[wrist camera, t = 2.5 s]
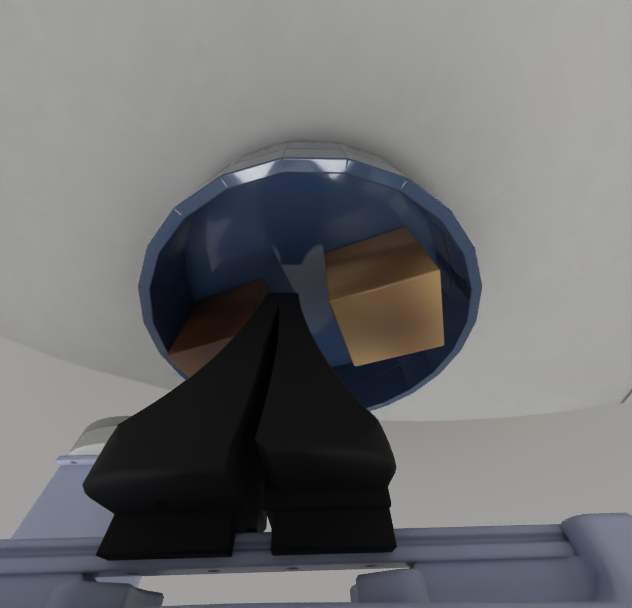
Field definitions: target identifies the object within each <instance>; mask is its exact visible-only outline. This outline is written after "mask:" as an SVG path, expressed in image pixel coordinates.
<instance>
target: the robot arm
mask: <svg viewBox="0 0 632 608" xmlns="http://www.w3.org/2000/svg"><path fill="white" fill-rule="evenodd" d="M56 462H57V463H58V464H59V465H61V466H60V467H59V469H58V470H57V471H56V473H55V474H54V476H53V477H52V479H51V480H50V482H49V483H48V485H47V486H46V488H45V489H44V491H43V492H42V493H41V495H40V496H39V498H38V499H37V501H36V502H35V504H34V505H33V507H32V508H31V510H30V511H29V513H28V514H27V515H26V517H25V519H24V520H23V521H22V523H21V524H20V526H19V527H18V529H17V530H16V532H15V533H14V535H13V536H12V537H11V539H5V540H4V539H3V540H0V608H632V516H631V515H630V514H628V513H601V514H582V515H577V516H573V517H571V518H568V519H566V520H565V521H562V523H561V524H551V525H514V526H477V527H440V528H404V529H393V524H392V519H391V514H390V510H389V508H390V507H391V500H390V495H389V491H388V485H389V483H390V481H391V480H392V478H393V476H394V474H395V471H396V464H395V459H394V456H393V453H392V450H391V447H390V444H389V442H388V440H387V437H386V435H385V433H384V431H383V429H382V427H381V425H380V423H379V421H378V419H377V418H376V417H375V416H374V415H373V414H372V413H371V412H370V411H369V410H367V408H366V407H365V406H364V405H363V404H362V403H361V402H360V401H359V400H358V399H357V398H356V397H355V396H354V394H353V393H352V392H351V391H350V390H349V389H348V388H347V386H346V385H345V384H344V383H343V381H342V380H341V379H340V377H339V376H338V375H337V374H336V372H335V371H334V370H333V368H332V367H331V366H330V364H329V363H328V361H327V360H326V358H325V357H324V355H323V354H322V352H321V350H320V349H319V347H318V345H317V343H316V342H315V340H314V338H313V336H312V334H311V332H310V330H309V328H308V325H307V323H306V320H305V318H304V315H303V312H302V309H301V306H300V301H299V294H298V293H267V294H266V295H265V296H264V298H263V300H262V301H261V303H260V304H259V306H258V307H257V308H256V310H255V311H254V313H253V314H252V315H251V317H250V318H249V319H248V320H247V322H246V323H245V324H244V325H243V327H242V328H241V329H240V330H239V331H238V332H237V334H236V335H235V336H234V337H233V338H232V339H231V340H230V341H229V343H228V344H227V345H226V346H225V347H224V348H223V349H222V350H221V351H220V352H219V353H217V354H216V355H215V356H214V357H213V358H212V359H211V360H210V361H209V362H208V363H206V364H205V365H204V366H203V367H202V368H201V369H200V370H198V371H197V372H196V373H195V374H193V375H192V376H191V377H190V378H188V379H187V380H186V381H184V382H183V383H182V384H180V385H179V386H178V387H176V388H175V389H173V390H172V391H171V392H169V393H168V394H166V395H165V396H164V397H162V398H160V399H159V400H157V401H156V402H154V403H153V404H151V405H150V406H148V407H146V408H145V409H143V410H142V411H140V412H138V413H137V414H135V415H133V416H132V417H130V418H128V419H127V420H125V421H123V422H122V423H120V424H118V426H117V427H116V429H115V430H114V432H113V433H112V435H111V436H110V438H109V439H108V441H107V442H106V444H105V446H104V448H103V449H102V451H101V453H100V454H99V455H73V456H59V457H58V458H57V460H56ZM267 516H268V519H269V522H270V525H271V528H272V531H271V532H264V531H265V529H266V524H267V523H266V522H267ZM406 567H407V568H409V569H397V570H389V571H382V572H375V573H368V574H362V575H358V577H357V579H356V585H354V586H352V587H351V589H350V595H351V602H347V603H346V602H345V603H344V602H343V603H342V602H341V603H340V602H338V603H244V604H243V603H242V604H209V605H183V606H162V607H161V605H162V602H163V598H164V596H163V594H162V593H158V592H152V591H146V590H143V589H139V588H138V585H139V582H140V579H141V577H142V576H158V575H190V574H220V573H253V572H284V571H312V570H313V571H315V570H345V569H346V570H347V569H377V568H378V569H379V568H406Z"/></svg>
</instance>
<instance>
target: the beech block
mask: <svg viewBox="0 0 632 608" xmlns="http://www.w3.org/2000/svg"><path fill="white" fill-rule="evenodd" d="M324 260H325V270H326V279H327V289H328V298H329V304H330V306H331V309H332V311H333V314H334V316H335V319H336V321H337V324H338V326H339V329H340V331H341V334H342V336H343V339H344V341H345V344H346V347H347V349H348V352H349V354H350V357H351V359H352V362H353V364H354V366H360V365H364V364H368V363H372V362H377V361H381V360H385V359H389V358H394V357H398V356H402V355H406V354H411V353H415V352H419V351H423V350H428V349H432V348H436V347H440V346H443V345H444V328H443V311H442V294H441V277H440V270H439V268H438V267H437V266H436V264H435V263H434V262H433V261H432V259H431V258H430V257H429V256H428V254H427V253H426V252H425V251H424V249H423V248H422V247H421V245H420V244H419V243H418V242H417V240H416V239H415V238H414V237H413V235H412V234H411V233H410V231H409V230H408V229H407V228H406V227H402V228H399V229H396V230H393V231H390V232H387V233H384V234H381V235H378V236H375V237H372V238H368V239H365V240H362V241H359V242H356V243H353V244H350V245H347V246H344V247H341V248H338V249H334V250H331V251H328V252H325V253H324Z"/></svg>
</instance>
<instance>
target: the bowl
mask: <svg viewBox="0 0 632 608" xmlns="http://www.w3.org/2000/svg"><path fill="white" fill-rule="evenodd" d="M402 227H406V228H407V229H408V230H409V231H410V233H411V234H412V235H413V237H414V238H415V239H416V240H417V242H418V243H419V244H420V245H421V247H422V248H423V249H424V251H425V252H426V253H427V254H428V256H429V257H430V258H431V259H432V261H433V262H434V263H435V264H436V266H437V267H438V268H439V270H440V277H441V294H442V311H443V328H444V345H443V346H440V347H436V348H432V349H428V350H423V351H419V352H415V353H411V354H406V355H402V356H398V357H394V358H389V359H385V360H381V361H377V362H372V363H368V364H364V365H360V366H354V364H353V362H352V359H351V357H350V354H349V352H348V349H347V347H346V344H345V341H344V339H343V336H342V334H341V331H340V329H339V326H338V324H337V321H336V319H335V316H334V314H333V311H332V309H331V306H330V304H329V298H328V289H327V279H326V270H325V260H324V253H325V252H328V251H331V250H334V249H338V248H341V247H344V246H347V245H350V244H353V243H356V242H359V241H362V240H365V239H368V238H372V237H375V236H378V235H381V234H384V233H387V232H390V231H393V230H396V229H399V228H402ZM259 280H263V281H264V283H265V284H266V286H267V288H268V290H269V291H270V293H298V294H299V301H300V306H301V309H302V312H303V315H304V318H305V320H306V323H307V325H308V328H309V330H310V332H311V334H312V336H313V338H314V340H315V342H316V343H317V345H318V347H319V349H320V350H321V352H322V354H323V355H324V357H325V358H326V360H327V361H328V363H329V364H330V366H331V367H332V368H333V370H334V371H335V372H336V374H337V375H338V376H339V377H340V379H341V380H342V381H343V383H344V384H345V385H346V386H347V388H348V389H349V390H350V391H351V392H352V393H353V394H354V396H355V397H356V398H357V399H358V400H359V401H360V402H361V403H362V404H363V405H364V406H365V407H366V408H367V410H369V411H371V410H374V409H378V408H381V407H384V406H387V405H389V404H391V403H393V402H395V401H397V400H400V399H402V398H404V397H406V396H408V395H410V394H412V393H414V392H415V391H417V390H418V389H420V388H421V387H422V386H424V385H425V384H426V383H428V382H429V381H431V380H432V379H433V378H435V377H436V376H438V375H439V374H440V373H441V372H442V371H443V370H444V369H445V367H446V366H447V365H448V364H449V363H450V362H451V361H452V360H453V359H454V357H455V356H456V355H457V354H458V353H459V352H460V350H461V349H462V347H463V345H464V344H465V342H466V340H467V338H468V336H469V334H470V332H471V330H472V328H473V326H474V324H475V322H476V319H477V314H478V308H479V302H480V296H481V291H482V283H481V278H480V273H479V267H478V262H477V257H476V252H475V249H474V246H473V244H472V243H471V241H470V240H469V238H468V236H467V235H466V233H465V232H464V230H463V229H462V227H461V225H460V224H459V222H458V221H457V219H456V218H455V216H454V214H453V213H452V211H451V210H450V209H449V208H448V207H446V206H445V205H444V204H442V203H441V202H440V201H438V200H437V199H436V198H434V197H433V196H432V195H430V194H429V193H428V192H426V191H425V190H424V189H422V188H421V187H420V186H418V185H417V184H416V183H414V182H413V181H412V180H410V179H409V178H408V177H406V176H405V175H404V174H402V173H401V172H400V171H398V170H397V169H396V168H394V167H393V166H392V165H390V164H389V163H388V162H386V161H385V160H384V159H382V158H380V157H378V156H375V155H372V154H369V153H367V152H365V151H362V150H360V149H358V148H354V147H350V146H346V145H342V144H339V143H331V142H320V141H302V142H287V143H284V144H280V145H275V146H270V147H267V148H264V149H262V150H259V151H256V152H254V153H251V154H247V155H245V156H243V157H241V158H240V159H238V160H237V161H235V162H234V163H233V164H231V165H229V166H228V167H227V168H225V169H224V170H223V171H221V172H220V173H218V174H217V175H215V176H214V177H213V178H211V179H210V180H208V181H207V182H206V183H205V184H203V185H202V186H201V187H199V188H198V189H197V190H196V191H194V192H193V193H192V194H191V195H189V196H188V197H187V198H185V199H184V200H183V201H182V202H180V203H179V204H178V205H177V206H175V207H174V208H173V210H172V211H171V213H170V214H169V215H168V217H167V218H166V220H165V221H164V223H163V224H162V226H161V227H160V228H159V230H158V231H157V233H156V234H155V236H154V237H153V239H152V240H151V241H150V243H149V244H148V247H147V249H146V254H145V258H144V262H143V267H142V271H141V276H140V280H139V285H138V286H139V287H138V289H139V296H140V302H141V309H142V315H143V322H144V324H145V326H146V328H147V330H148V332H149V334H150V336H151V338H152V340H153V342H154V343H155V345H156V347H157V349H158V351H159V352H160V354H161V355H162V356H163V357H164V358H165V359H166V360H167V362H168V363H169V364H170V365H171V366H172V367H173V368H174V369H175V370H176V371H177V372H178V373H179V375H180V376H182V377H183V378H184V379H185V380H187V379H188V378H189V377H188V376H187V375H186V374H185V373H183V372H182V371H181V370H180V369H179V368H178V367H177V366H176V365H175V364H174V363H173V362H172V361H170V360H169V359H168V358H167V354H168V352H169V351H170V349H171V347H172V345H173V344H174V342H175V340H176V338H177V336H178V335H179V333H180V331H181V329H182V327H183V326H184V324H185V322H186V320H187V318H188V317H189V315H190V313H191V311H192V309H193V308H194V306H195V304H196V302H197V301H198V300H201V299H204V298H207V297H210V296H213V295H216V294H219V293H222V292H225V291H228V290H231V289H234V288H237V287H240V286H243V285H246V284H249V283H252V282H255V281H259Z"/></svg>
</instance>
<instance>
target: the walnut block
mask: <svg viewBox="0 0 632 608" xmlns="http://www.w3.org/2000/svg"><path fill="white" fill-rule="evenodd" d="M267 293H270V291H269V290H268V288H267V286H266V284H265V283H264V281H263V280H259V281H255V282H252V283H249V284H246V285H243V286H240V287H237V288H234V289H231V290H228V291H225V292H222V293H219V294H216V295H213V296H210V297H207V298H204V299H201V300H198V301H197V302H196V304H195V306H194V308H193V309H192V311H191V313H190V315H189V317H188V318H187V320H186V322H185V324H184V326H183V327H182V329H181V331H180V333H179V335H178V336H177V338H176V340H175V342H174V344H173V345H172V347H171V349H170V351H169V352H168V354H167V358H168V359H169V360H170V361H172V362H173V363H174V364H175V365H176V366H177V367H178V368H179V369H180V370H181V371H182V372H183V373H185V374H186V375H187V376H188V377H189V378H190V377H191V376H192V375H193V374H195V373H196V372H197V371H198V370H200V369H201V368H202V367H203V366H204V365H205V364H206V363H208V362H209V361H210V360H211V359H212V358H213V357H214V356H215V355H216V354H217V353H219V352H220V351H221V350H222V349H223V348H224V347H225V346H226V345H227V344H228V343H229V341H230V340H231V339H232V338H233V337H234V336H235V335H236V334H237V332H238V331H239V330H240V329H241V328H242V327H243V325H244V324H245V323H246V322H247V320H248V319H249V318H250V317H251V315H252V314H253V313H254V311H255V310H256V308H257V307H258V306H259V304H260V303H261V301H262V300H263V298H264V296H265V295H266V294H267Z"/></svg>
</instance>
